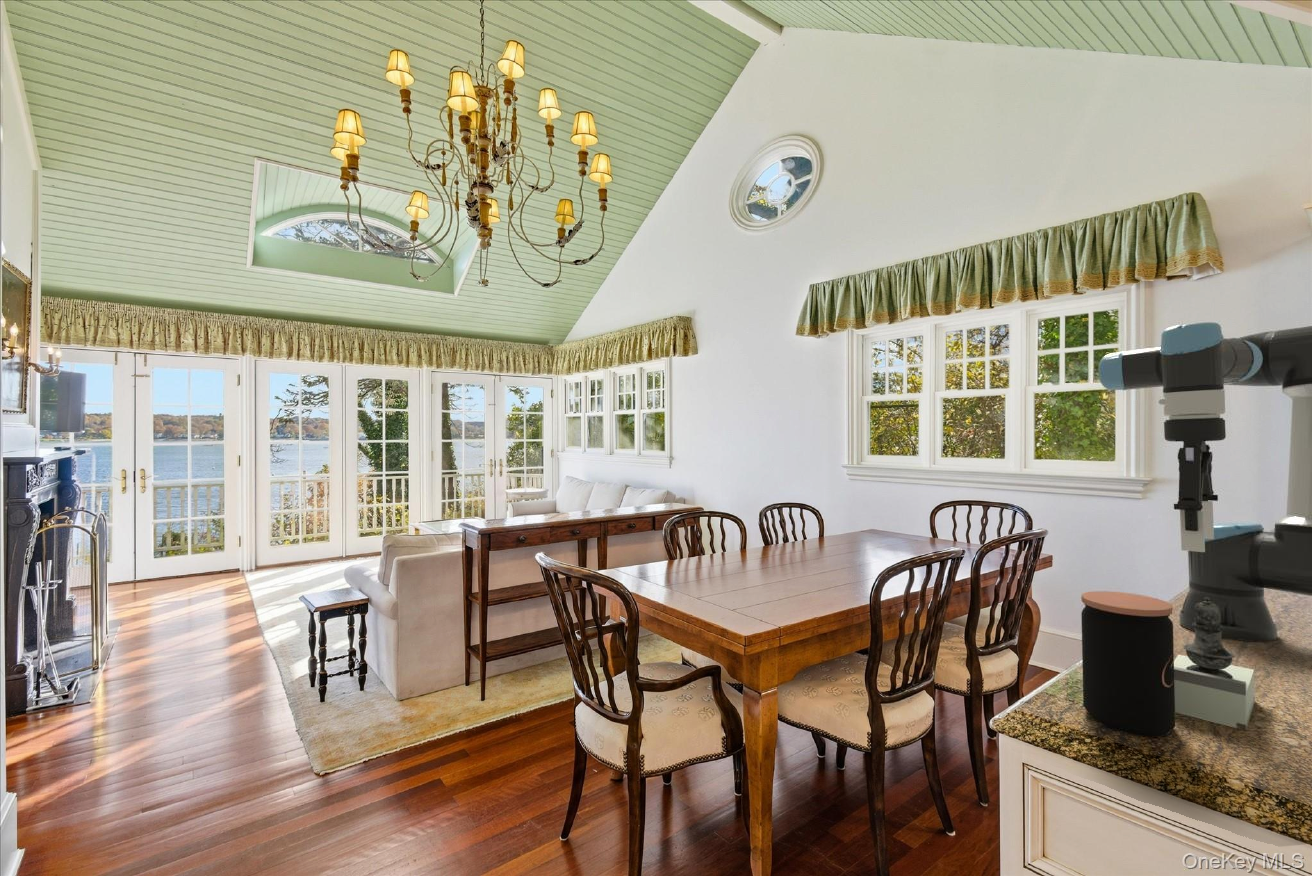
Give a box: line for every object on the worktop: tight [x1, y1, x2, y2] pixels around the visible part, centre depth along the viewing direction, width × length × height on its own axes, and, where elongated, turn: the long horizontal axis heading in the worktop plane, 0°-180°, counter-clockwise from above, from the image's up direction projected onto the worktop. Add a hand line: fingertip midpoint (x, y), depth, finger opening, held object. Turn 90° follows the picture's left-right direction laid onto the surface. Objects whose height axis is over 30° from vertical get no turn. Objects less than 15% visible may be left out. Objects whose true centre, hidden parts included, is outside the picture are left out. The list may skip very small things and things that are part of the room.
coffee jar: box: [1080, 590, 1176, 738], centre depth 87 cm, size 11×11×18 cm
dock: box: [1174, 654, 1256, 732], centre depth 91 cm, size 14×9×7 cm, turn 131°
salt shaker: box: [1182, 597, 1236, 679], centre depth 91 cm, size 6×6×12 cm
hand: (1198, 544), depth 97 cm, fingers open, 13 cm apart
